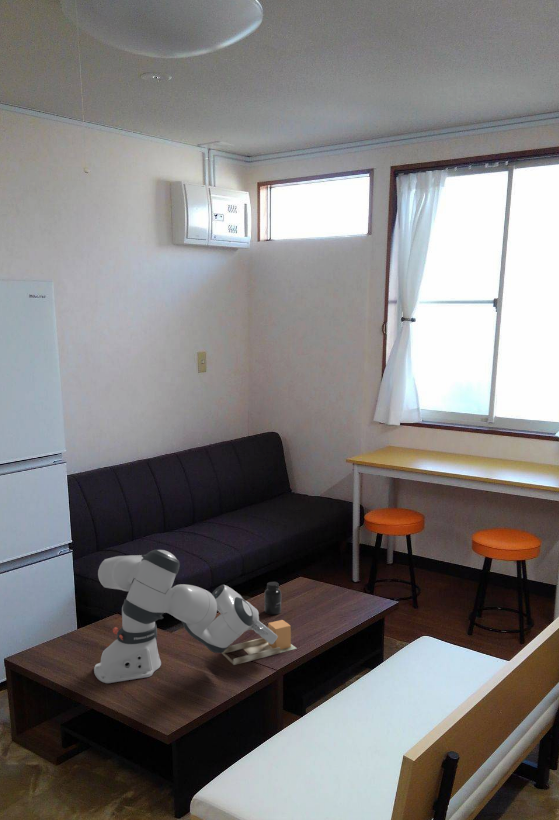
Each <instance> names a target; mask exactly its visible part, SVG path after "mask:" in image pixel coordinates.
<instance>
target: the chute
mask: <svg viewBox="0 0 559 820" xmlns="http://www.w3.org/2000/svg"><path fill="white" fill-rule="evenodd" d="M297 649H298V648H297V647H296V646H294V644H292V643H291V647H289V648H285V649H281V650H280V647H277V648H272V647H271V646H270V645H269V644H268V642H267V641H266V640H265V639H264V638H262V637H259V638H255V639H252V640H248V641H244V642H239V643H237V644H236V643H235V644H230V645H229V647H228V648H227V649H226V650H225V651H224V652H223V653H221V655H223V656H224V657H225V658H226V659H227V660H228V661H229V662H230V663H231V664H232V665H233V666H236V665H240V664H244V663H247V662H251V661H254V660H259V659H263V658H266V657H270V656H271V657H272V656H274V655H277V654H278V655H279V654H281V653H285V652H290V651H292V650H297ZM240 650H243V651H244V652H246V653H247V654H245V655H242V656H238V657H235V658H233V659H232V658H230V656H228V655H227V654H229V653H231V652H235V651H240Z"/></svg>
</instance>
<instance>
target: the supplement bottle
mask: <svg viewBox="0 0 559 820" xmlns="http://www.w3.org/2000/svg"><path fill="white" fill-rule="evenodd" d="M281 612H282V590H281V589H280V584H279V583H278V582H277V581H269V582H267V583H266V589H265V590H264V613H265V614H267V615H269V616H270V615H271V616H274V615H276V616H277V615H279V614H281Z"/></svg>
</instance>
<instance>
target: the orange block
mask: <svg viewBox="0 0 559 820" xmlns="http://www.w3.org/2000/svg"><path fill="white" fill-rule="evenodd" d="M267 624H268V625H267V627H268V628H269V629H270V630H271V631H273V632H274V633H275V634H276V635H277V636H278V638H277V639H276V641H275V642H274V643H273V644H270V643H269V642H268V644H269V645H270V646H271V647H272V648H277V647H280V650H281V649H285V648H289V647H291V644H292V629H291V627H292V626H291V625H290V624H289V623H288V622H286V621H285V620H283V619H280V620H276V621H270V622H268V623H267Z"/></svg>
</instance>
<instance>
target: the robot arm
mask: <svg viewBox="0 0 559 820" xmlns="http://www.w3.org/2000/svg"><path fill="white" fill-rule="evenodd" d="M180 565H181V563H180V560H179V559H177V557H176V556H175V555H174V554H173V553H171V552H170V551H167V550H165V549H154V550H151V551H149V552H148V553H146V554H141V555H140V554H139V555H138V554H137V555H135V554H134V555H133V554H132V555H117V556H113V557H112V556H111V557H109V558H104V560H103V561H102V562H101V563H100V565H99V566H98V567H99V568H98V570H97V578H98V580H99V582H100V584H101V585H102V587H103V588H106V589H113V590H120V591H123V592H128V593H127V595H126V598H125V599H124V601H123V604H122V607H121V617H122V619H121V621H122V623H121V624H122V626H121V627H120V628H118V627H117V626H115V627H113V628H112V633H113V634H114V635H116V639H115V640H114V641H113V642H112V643H110V645H109V646H107V647H106V648H104V650H103V651H102V654H101V657H100V662H99V663H96V664H95V665H94V668H93V673H94V675H95V677H96V678H97V680H98V681H100V682H102V683H105V684H111V683H117V682H118V683H119V682H125V681H129V680H130V681H131V680H136V679H143V678H151V676H153V674H154V672H156V671H157V670H158V669H159V668H160V667H161V666H162V661H161V660H162V659H160V654H159V649H158V644H157V640H158V628H157V627H158V626H157V623H156V621H158V620H164V616H163V615H164V613H165V614H166V613H167V614H169V615H171V616H173V617H174V618H175V619H177V620H179V621H181V623H182V624H183V628H184V630H185V631H186V633H188V634H189V635H190V636H191V637H192V638H193V639H195V640H197V641H198V642H199V643H201V644H202V645H204V646H205V647H206V648H207V649H208V650H209V651H210V652H212V653H215V654H222V653H223V652H224V651H225V650H226V649H227V648H228V647H229V646H231V645H233V642H235V641H237V640H238V639H239V638H240V637H241V636H242V635H243V634H244V633H245V632H246V631H254V633H256V634H257V635H259V636H260V638H264V639H265V640H266V641H267V642H269V643H270V644H273V643H274V642H275V641H276V639H277V638H278V636H277V635H276V634H275V633H274V632H273V631H271V630H270V629H269V628H268V626H266V625H265V624H264V623H263V622H261V621H260V616H259V615H260V613H259V610H258V609H257V608H256V607H255V606H253V605H252V604H251V602H249V601H247V600H245V599H244V598H243V596H242V595H241V594H240V593H238V592H237V591H235V590H234V589H233V588H232V587H229V586H228V585H225V584H221V585H219V586H218V587H216V588H215V589H213V591H212V593H211V592H210V591H209V590H206V589H204V588H202V587H199V586H196V585H193V584H184V583H183V584H181V583H180V584H176V585H174V581H175V578H176V577H177V575H178V573H179V571H180ZM173 585H174V586H173ZM217 612H219V613H220V614H219V615H218V616H217V614H218V613H217ZM216 616H217V617H216Z"/></svg>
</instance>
